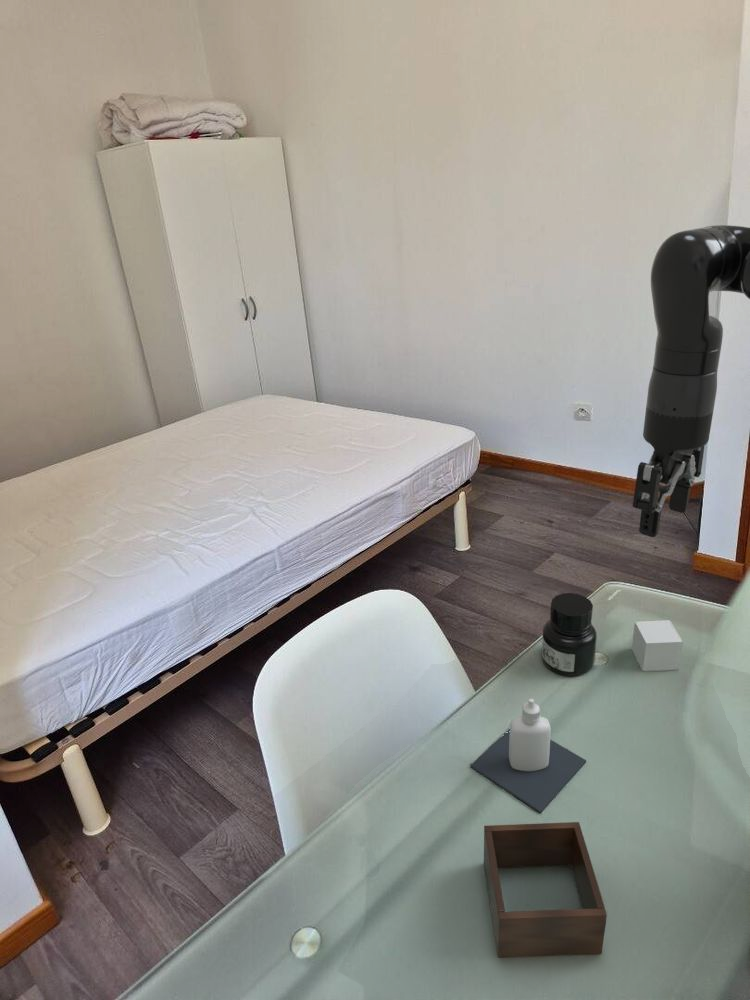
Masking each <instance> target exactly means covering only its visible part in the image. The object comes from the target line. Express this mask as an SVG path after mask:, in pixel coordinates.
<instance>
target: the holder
mask: <svg viewBox="0 0 750 1000" xmlns="http://www.w3.org/2000/svg"><path fill="white" fill-rule="evenodd" d="M563 866H565V867H566V866H570V869H571V873H572V876H573V879H574V883H575V887H576V890H577V894H578V897H579V902H580V905H581V908H578V909H577V908H575V909H574V908H571V909H547V910H546V909H545V910H520V911H519V910H517V911H506V910H505V909H506V908H505V904H504V897H503V892H502V886H501V880H500V873H499V869H507V868H509V869H510V868H534V867H535V868H536V867H563ZM483 867H484V874H485V880H486V887H487V894H488V902H489V908H490V914H491V922H492V927H493V934H494V940H495V947H496V948H495V949H496V954H497V958H521V957H522V958H523V957H549V956H550V957H553V956H581V955H582V956H583V955H602V953H603V947H604V939H605V933H606V925H607V919H608V918H607V917H608V913H607V910H606V907H605V904H604V900H603V897H602V894H601V890H600V887H599V883H598V880H597V876H596V874H595V871H594V867H593V864H592V861H591V857H590V854H589V850H588V847H587V844H586V840H585V837H584V834H583V830H582V828H581V824H580V822H579V821H573V822H572V821H571V822H570V821H568V822H544V823H543V822H542V823H520V824H518V823H517V824H494V825H484V826H483Z"/></svg>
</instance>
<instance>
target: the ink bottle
mask: <svg viewBox="0 0 750 1000" xmlns="http://www.w3.org/2000/svg"><path fill="white" fill-rule="evenodd" d="M593 608H594V605H593V603H592V601H591V599H590V598H588V597H586V596H584V595H581V594H579V593H574V592H565V593H564V592H563V593H560V594H556V595H555V596H554V597H553V598H552V599H551V602H550V615H549V616H550V617H549V619H548V620H547V621H546V622H545V623H544V625H543V629H542V639H541V640H542V641H541V658H542V661H543V663H544V665H545V666H546V667H547V668H548V669H550V670H551V671H552V672H554V673H556V674H558V675H562V676H570V677H573V676H579V675H584V674H586V673H588V672H589V671H591V670H592V669H593V667H594V665H595V659H596V648H597V636H598V635H597V631H596V628H595V627H594V625H593V624H592V618H593V611H594V610H593Z"/></svg>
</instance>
